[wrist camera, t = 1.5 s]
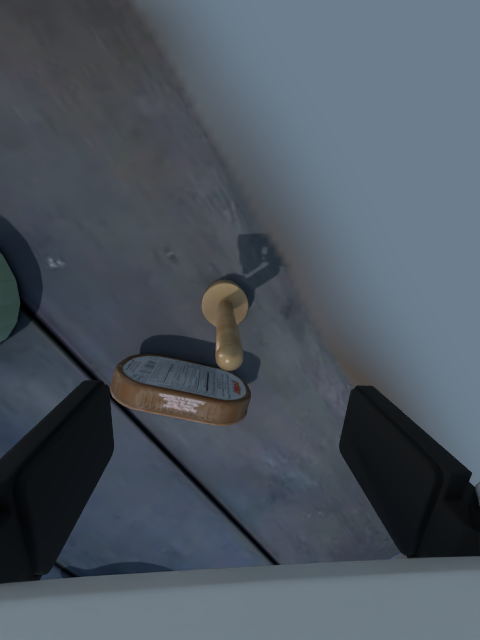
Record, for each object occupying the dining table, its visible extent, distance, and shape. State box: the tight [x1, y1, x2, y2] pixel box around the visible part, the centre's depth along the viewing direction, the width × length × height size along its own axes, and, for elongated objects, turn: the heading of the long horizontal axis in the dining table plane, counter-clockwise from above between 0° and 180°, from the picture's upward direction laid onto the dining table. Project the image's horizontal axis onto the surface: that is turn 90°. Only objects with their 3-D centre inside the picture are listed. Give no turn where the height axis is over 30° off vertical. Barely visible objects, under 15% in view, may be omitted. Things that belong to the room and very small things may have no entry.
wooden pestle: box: [202, 280, 248, 371], centre depth 21 cm, size 5×5×16 cm
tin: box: [110, 354, 251, 426], centre depth 26 cm, size 15×3×8 cm, turn 74°
